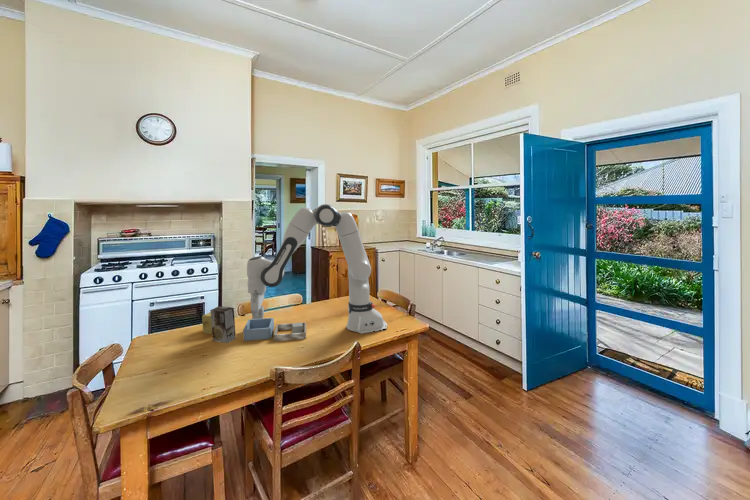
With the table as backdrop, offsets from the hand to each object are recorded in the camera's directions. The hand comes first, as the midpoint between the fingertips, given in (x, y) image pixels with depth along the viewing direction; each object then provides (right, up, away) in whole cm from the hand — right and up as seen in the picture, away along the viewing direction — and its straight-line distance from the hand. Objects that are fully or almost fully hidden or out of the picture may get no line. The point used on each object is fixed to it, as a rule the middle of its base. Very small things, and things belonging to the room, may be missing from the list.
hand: (258, 314), depth 166 cm
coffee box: (-15, -12, -5) cm, 20 cm away
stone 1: (0, -2, 0) cm, 2 cm away
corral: (+17, -11, +1) cm, 20 cm away
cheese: (-24, -10, +6) cm, 26 cm away
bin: (0, -11, +2) cm, 11 cm away
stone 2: (+20, -11, +2) cm, 23 cm away
